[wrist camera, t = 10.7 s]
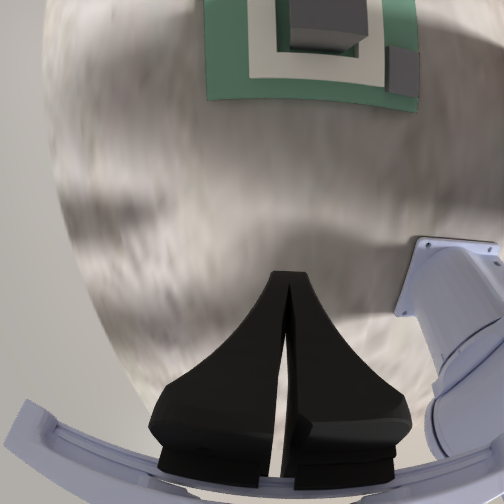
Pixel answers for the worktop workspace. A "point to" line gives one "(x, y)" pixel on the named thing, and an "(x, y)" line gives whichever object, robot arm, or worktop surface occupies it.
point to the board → (310, 56)
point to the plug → (327, 24)
